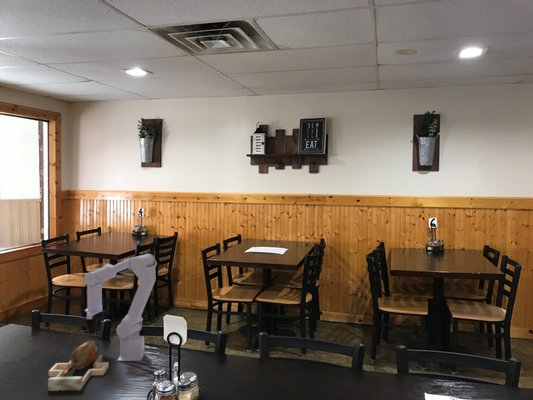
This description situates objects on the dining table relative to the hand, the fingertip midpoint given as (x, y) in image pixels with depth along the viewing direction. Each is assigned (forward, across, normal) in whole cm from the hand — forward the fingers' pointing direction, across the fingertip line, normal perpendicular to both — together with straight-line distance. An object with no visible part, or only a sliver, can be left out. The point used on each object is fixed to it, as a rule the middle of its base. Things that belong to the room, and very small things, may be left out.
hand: (94, 330), depth 185 cm
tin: (+10, +12, 0) cm, 16 cm away
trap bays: (+9, +19, 0) cm, 21 cm away
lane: (+9, +20, 0) cm, 23 cm away
